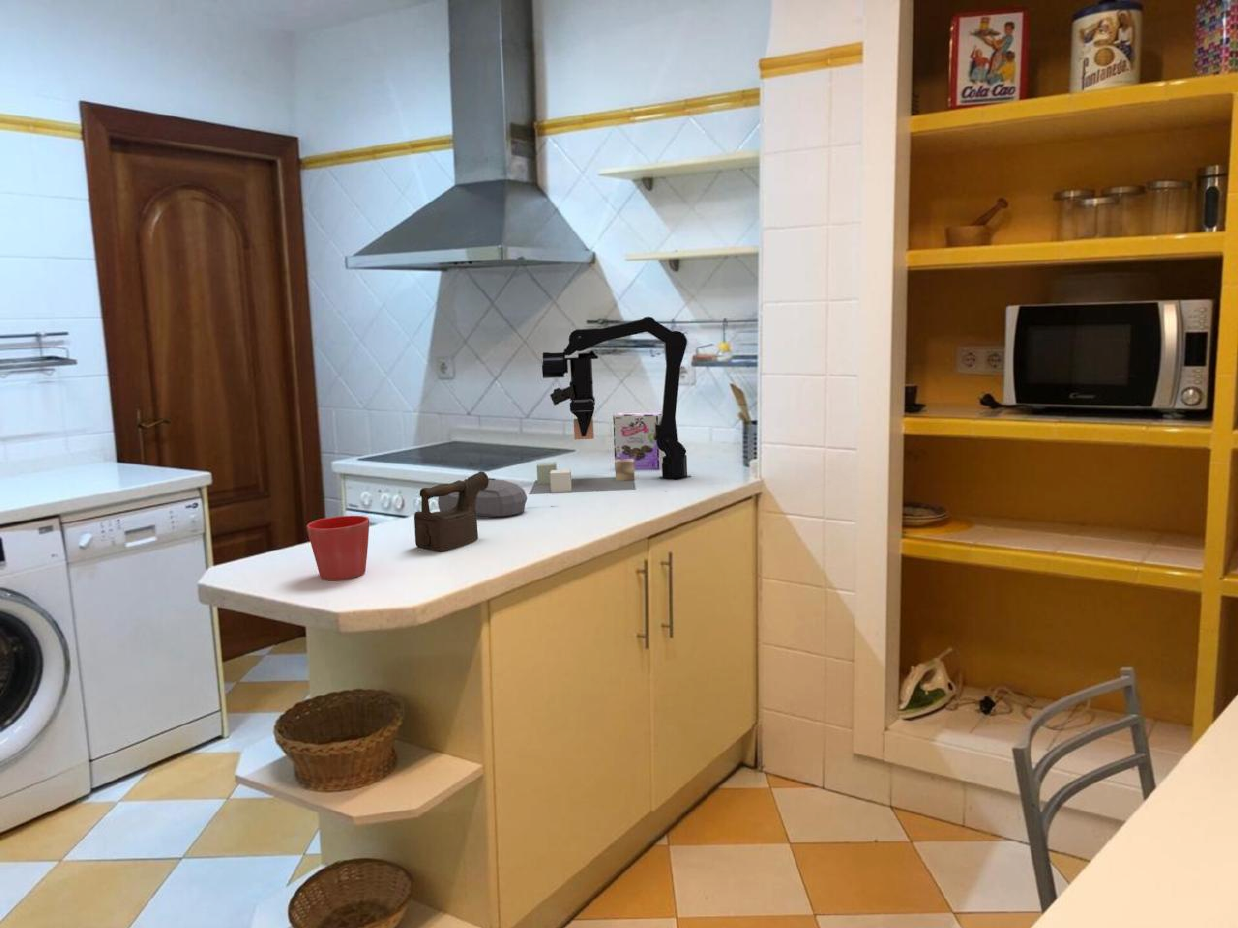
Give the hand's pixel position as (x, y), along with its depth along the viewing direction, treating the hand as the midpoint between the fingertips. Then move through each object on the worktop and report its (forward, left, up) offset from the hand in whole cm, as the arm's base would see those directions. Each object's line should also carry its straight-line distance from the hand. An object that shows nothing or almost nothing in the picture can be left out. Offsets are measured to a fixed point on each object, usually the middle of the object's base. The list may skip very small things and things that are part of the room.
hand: (584, 434), depth 257 cm
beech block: (-8, +7, -12) cm, 16 cm away
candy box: (-24, -3, -13) cm, 28 cm away
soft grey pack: (+42, +11, -13) cm, 45 cm away
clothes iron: (+65, +32, -13) cm, 73 cm away
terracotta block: (0, 0, -1) cm, 1 cm away
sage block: (+8, -7, -12) cm, 16 cm away
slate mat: (+5, +4, -13) cm, 15 cm away
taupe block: (+14, +6, -12) cm, 20 cm away
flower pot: (+92, +36, -13) cm, 99 cm away
